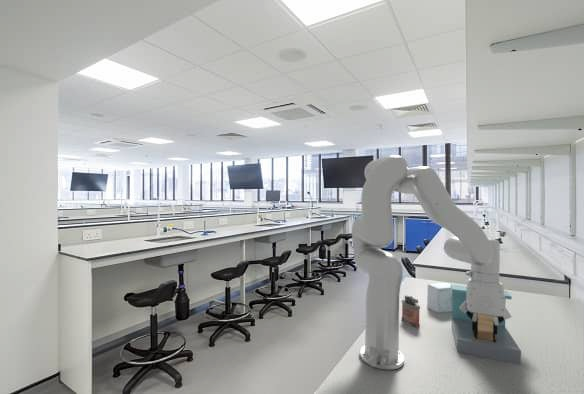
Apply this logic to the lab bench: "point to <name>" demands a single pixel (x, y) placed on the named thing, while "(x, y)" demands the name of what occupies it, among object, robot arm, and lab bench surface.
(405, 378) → the lab bench surface
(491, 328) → the peg
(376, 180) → the robot arm
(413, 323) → the lighter
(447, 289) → the skincare box
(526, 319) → the lab bench surface
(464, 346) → the socket block
